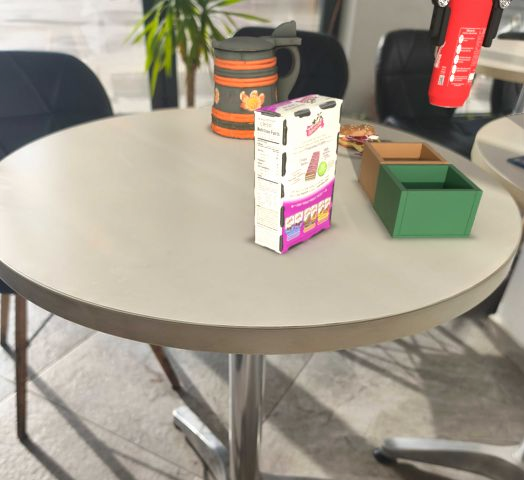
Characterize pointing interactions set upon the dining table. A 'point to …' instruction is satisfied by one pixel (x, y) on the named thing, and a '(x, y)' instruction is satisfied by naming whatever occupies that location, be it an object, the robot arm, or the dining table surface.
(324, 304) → the dining table surface
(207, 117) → the dining table surface
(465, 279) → the dining table surface
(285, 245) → the candy bar box
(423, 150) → the paper bin
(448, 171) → the bin
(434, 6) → the robot arm
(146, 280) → the dining table surface
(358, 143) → the hamburger
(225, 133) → the beer stein
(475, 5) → the beverage can
